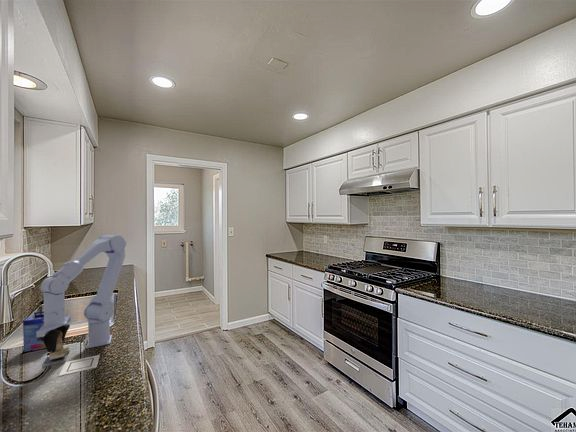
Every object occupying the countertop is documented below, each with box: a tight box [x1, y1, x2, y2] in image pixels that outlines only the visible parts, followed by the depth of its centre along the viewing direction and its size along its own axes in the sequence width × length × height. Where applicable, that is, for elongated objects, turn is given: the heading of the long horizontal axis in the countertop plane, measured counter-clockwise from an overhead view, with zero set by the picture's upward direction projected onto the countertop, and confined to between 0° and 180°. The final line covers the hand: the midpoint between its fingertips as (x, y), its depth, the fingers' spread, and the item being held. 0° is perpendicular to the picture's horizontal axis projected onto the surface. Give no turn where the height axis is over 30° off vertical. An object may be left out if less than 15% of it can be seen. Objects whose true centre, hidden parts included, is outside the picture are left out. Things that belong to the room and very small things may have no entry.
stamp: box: [48, 330, 71, 361], centre depth 99 cm, size 4×4×9 cm
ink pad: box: [41, 354, 69, 368], centre depth 99 cm, size 6×6×1 cm
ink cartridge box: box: [22, 310, 46, 353], centre depth 111 cm, size 10×6×14 cm, turn 113°
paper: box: [58, 354, 101, 377], centre depth 96 cm, size 10×10×1 cm
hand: (55, 349), depth 99 cm, fingers closed on stamp, 3 cm apart
